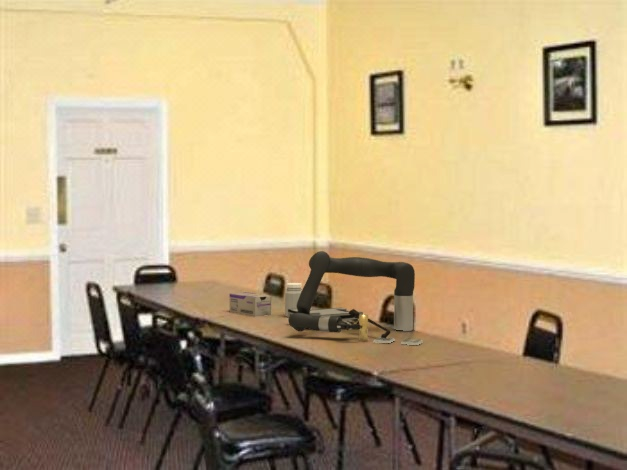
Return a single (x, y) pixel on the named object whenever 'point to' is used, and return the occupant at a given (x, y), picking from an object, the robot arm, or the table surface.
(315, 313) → the game console
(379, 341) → the metal plates
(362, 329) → the link pin
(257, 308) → the surgical sutures box
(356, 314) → the wrench
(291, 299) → the jar
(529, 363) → the table surface
